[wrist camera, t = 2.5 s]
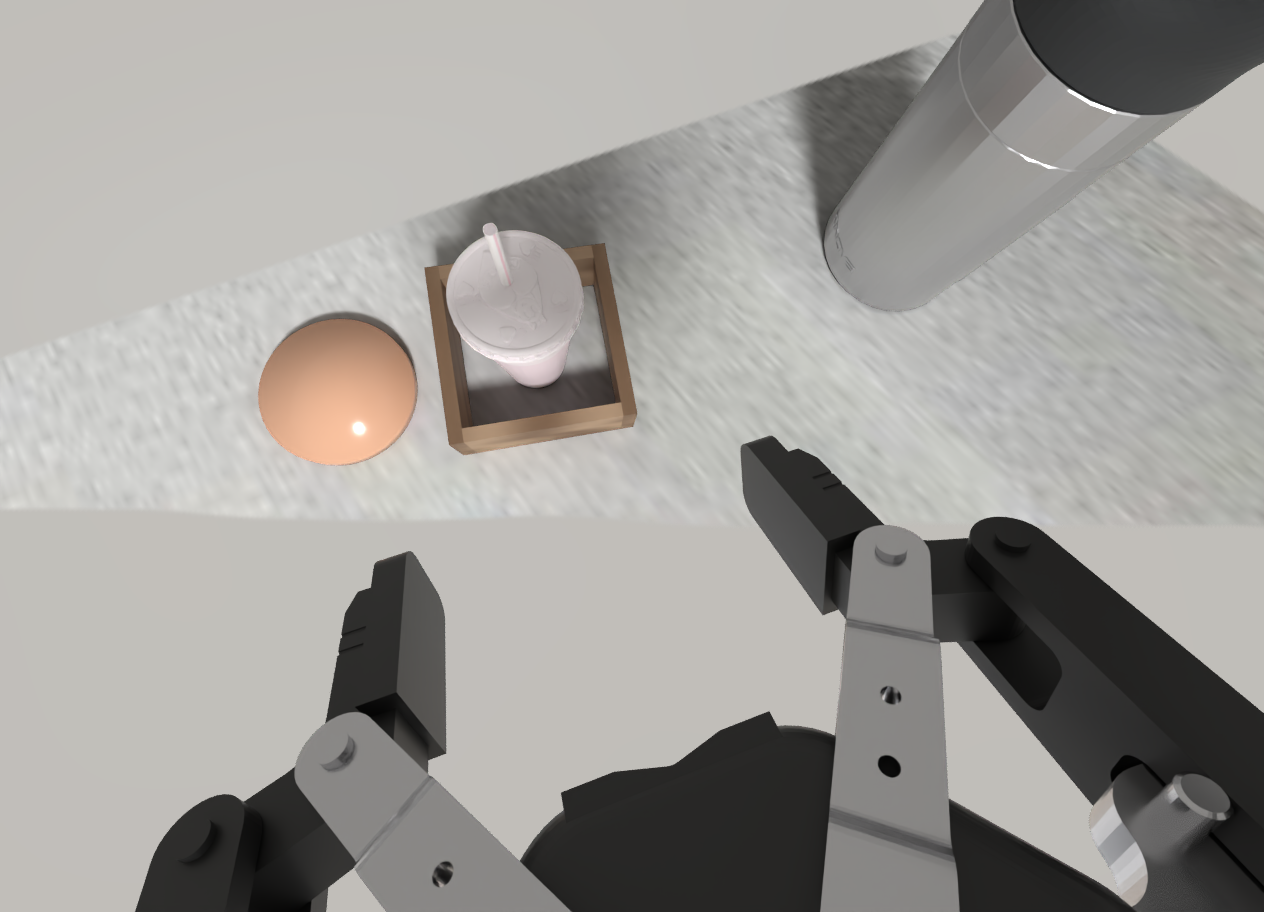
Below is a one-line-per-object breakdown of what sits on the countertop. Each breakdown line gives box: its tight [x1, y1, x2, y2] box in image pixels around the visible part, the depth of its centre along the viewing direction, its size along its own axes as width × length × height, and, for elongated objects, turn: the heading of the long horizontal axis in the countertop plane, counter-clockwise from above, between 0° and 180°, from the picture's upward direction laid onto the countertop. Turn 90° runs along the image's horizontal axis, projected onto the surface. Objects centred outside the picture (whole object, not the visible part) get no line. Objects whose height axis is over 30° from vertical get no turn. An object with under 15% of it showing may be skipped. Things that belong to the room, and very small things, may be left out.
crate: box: [425, 243, 637, 455], centre depth 33 cm, size 11×11×4 cm
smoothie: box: [446, 223, 584, 388], centre depth 28 cm, size 6×6×14 cm
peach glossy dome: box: [258, 319, 418, 465], centre depth 33 cm, size 9×9×1 cm
